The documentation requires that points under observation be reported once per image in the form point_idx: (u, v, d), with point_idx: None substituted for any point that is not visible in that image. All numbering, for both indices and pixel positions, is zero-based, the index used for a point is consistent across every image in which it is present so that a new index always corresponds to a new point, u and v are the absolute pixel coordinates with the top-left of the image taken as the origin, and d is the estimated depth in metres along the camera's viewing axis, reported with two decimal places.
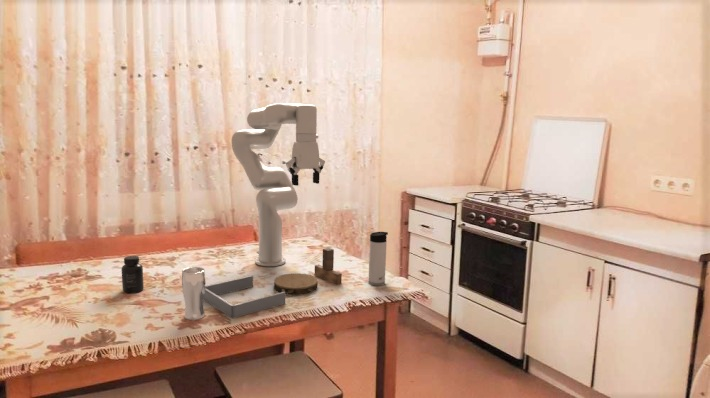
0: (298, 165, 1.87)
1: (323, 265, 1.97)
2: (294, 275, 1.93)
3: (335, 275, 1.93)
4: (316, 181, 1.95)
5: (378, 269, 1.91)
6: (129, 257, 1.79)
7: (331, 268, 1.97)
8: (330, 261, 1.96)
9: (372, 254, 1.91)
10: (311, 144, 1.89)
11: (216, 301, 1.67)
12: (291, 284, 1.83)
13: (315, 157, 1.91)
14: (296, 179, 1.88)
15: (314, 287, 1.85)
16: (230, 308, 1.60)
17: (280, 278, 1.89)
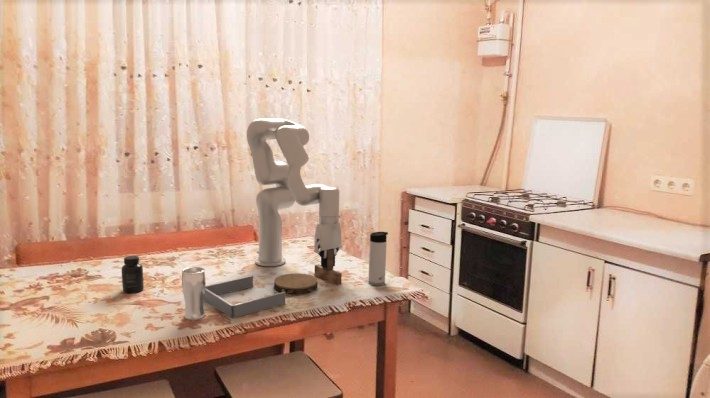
0: (321, 247, 1.91)
1: None
2: (294, 275, 1.93)
3: (335, 275, 1.93)
4: None
5: (378, 269, 1.91)
6: (129, 257, 1.79)
7: (331, 268, 1.97)
8: (330, 261, 1.96)
9: (372, 254, 1.91)
10: (334, 226, 1.93)
11: (216, 301, 1.67)
12: (291, 284, 1.83)
13: (337, 237, 1.95)
14: (325, 262, 1.95)
15: (314, 287, 1.85)
16: (230, 308, 1.60)
17: (280, 278, 1.89)
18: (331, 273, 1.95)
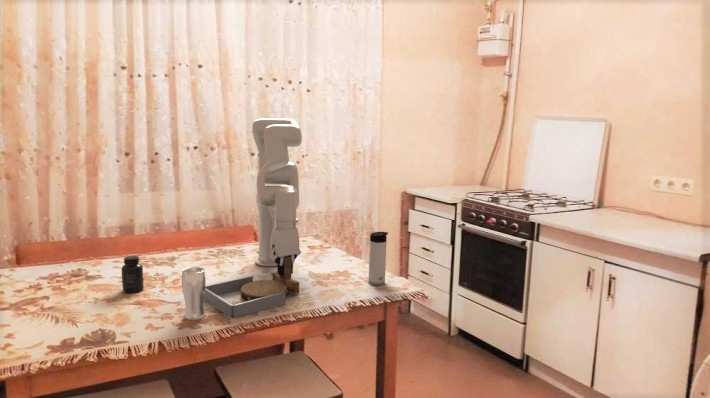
0: (277, 254, 1.78)
1: None
2: (263, 282, 1.84)
3: (292, 284, 1.80)
4: None
5: (378, 269, 1.91)
6: (129, 257, 1.79)
7: (289, 276, 1.84)
8: (288, 269, 1.83)
9: (372, 254, 1.91)
10: (290, 231, 1.80)
11: (216, 301, 1.67)
12: (258, 292, 1.75)
13: (295, 243, 1.82)
14: (282, 269, 1.82)
15: None
16: (230, 308, 1.60)
17: (248, 285, 1.81)
18: (288, 282, 1.81)
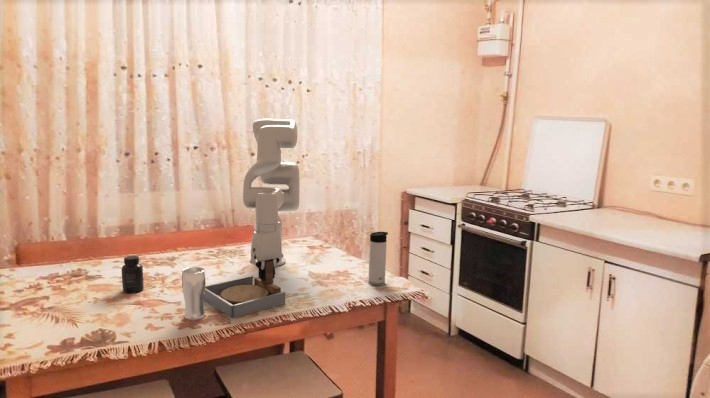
0: (257, 257, 1.73)
1: None
2: (245, 287, 1.79)
3: (273, 289, 1.75)
4: None
5: (378, 269, 1.91)
6: (129, 257, 1.79)
7: (270, 281, 1.79)
8: (269, 274, 1.78)
9: (372, 254, 1.91)
10: (272, 234, 1.75)
11: (216, 301, 1.67)
12: (238, 297, 1.70)
13: (277, 247, 1.77)
14: (263, 274, 1.77)
15: None
16: (230, 308, 1.60)
17: (229, 290, 1.76)
18: (270, 287, 1.76)
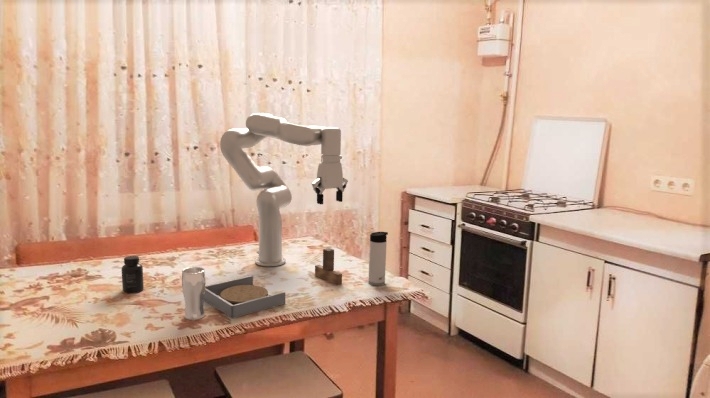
0: (323, 185, 1.97)
1: (323, 265, 1.97)
2: (244, 287, 1.79)
3: (335, 275, 1.93)
4: (339, 199, 2.05)
5: (378, 269, 1.91)
6: (129, 257, 1.79)
7: (331, 268, 1.97)
8: (331, 261, 1.96)
9: (372, 254, 1.91)
10: (335, 165, 1.98)
11: (216, 301, 1.67)
12: (237, 297, 1.69)
13: (339, 177, 2.01)
14: (321, 198, 1.98)
15: None
16: (230, 308, 1.60)
17: (228, 290, 1.75)
18: (331, 273, 1.94)
